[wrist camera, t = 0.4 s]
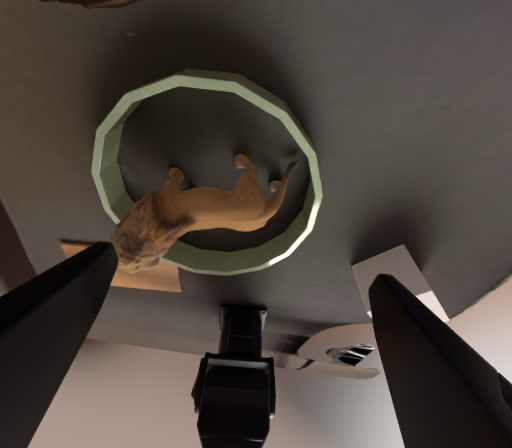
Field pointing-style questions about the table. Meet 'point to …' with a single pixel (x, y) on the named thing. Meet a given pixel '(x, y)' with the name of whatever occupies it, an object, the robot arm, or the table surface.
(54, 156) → the table surface
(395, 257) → the white cube
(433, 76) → the table surface
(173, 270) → the cork mat
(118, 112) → the pale green faceted ring
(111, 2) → the coffee cup
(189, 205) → the lion figurine
